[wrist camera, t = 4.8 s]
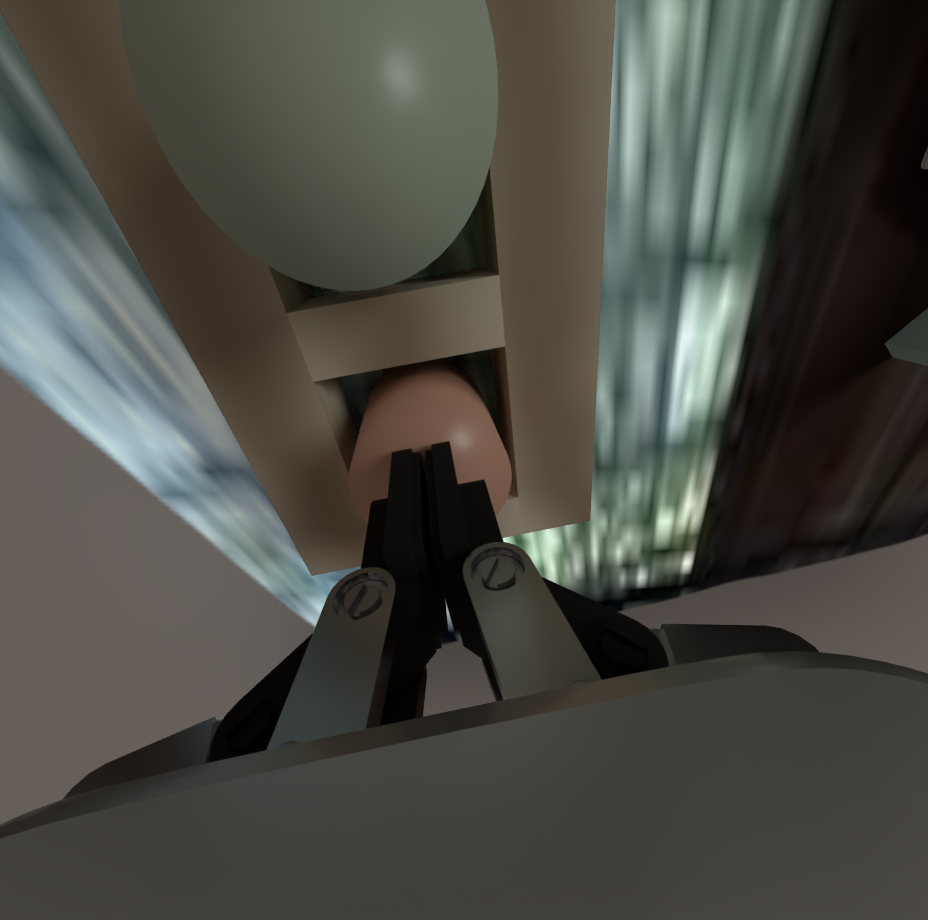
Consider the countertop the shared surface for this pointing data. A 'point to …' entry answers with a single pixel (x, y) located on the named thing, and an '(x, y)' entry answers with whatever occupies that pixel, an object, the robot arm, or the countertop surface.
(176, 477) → the countertop surface
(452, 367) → the brown egg
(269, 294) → the wooden rectangular frame
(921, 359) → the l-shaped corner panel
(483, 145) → the pale green egg
